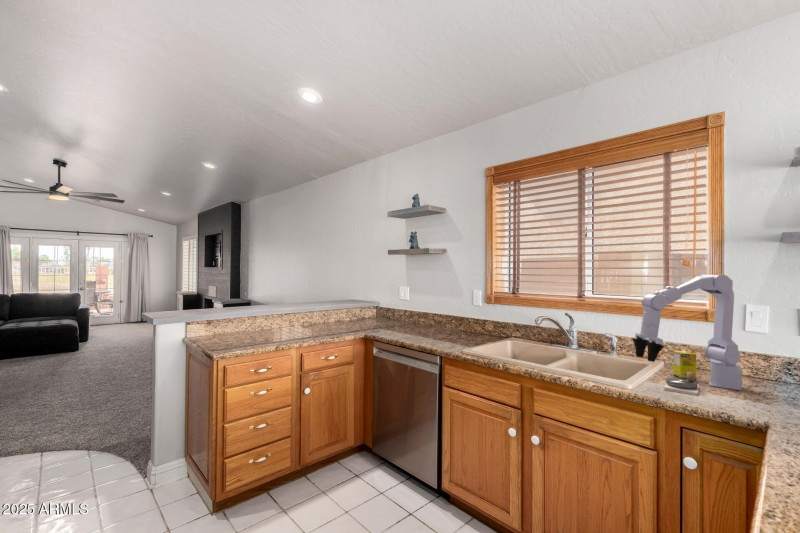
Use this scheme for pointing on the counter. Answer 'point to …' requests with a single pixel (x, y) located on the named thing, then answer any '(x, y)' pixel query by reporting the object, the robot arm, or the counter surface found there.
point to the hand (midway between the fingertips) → (645, 359)
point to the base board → (681, 389)
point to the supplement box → (684, 363)
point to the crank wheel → (683, 382)
